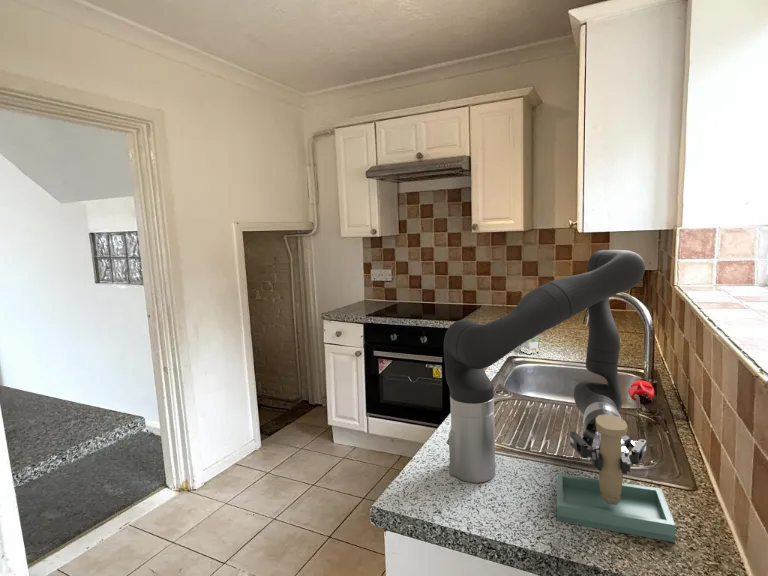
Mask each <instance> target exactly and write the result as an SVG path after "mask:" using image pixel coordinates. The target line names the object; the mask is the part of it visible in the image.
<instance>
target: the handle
mask: <svg viewBox="0 0 768 576" xmlns="http://www.w3.org/2000/svg"><path fill="white" fill-rule="evenodd" d="M621 418H622V417H621ZM621 418H619V417H617V416H613V415H598V416H597V417H596V429H597V431H599V432H600V433H601V443H600V453H601V458H602V471H600V470H598V479H599V486H600V491H601V492H600V497H601V499H602V500H603V501H605V502H606V503H607V504H613V505H617V503H618V502H620V499H621V490H622V483H623V480H624V479H623V475H624V474H622V471H621V456H622V447H621V437H623V436H625V435H627V433H628V424H627V422H626V421H625V420H624V419H623V418H622V419H621Z"/></svg>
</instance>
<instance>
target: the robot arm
mask: <svg viewBox="0 0 768 576" xmlns="http://www.w3.org/2000/svg"><path fill="white" fill-rule="evenodd" d="M645 271H646V264H645V260H644V259H643V257H642V256H641V255H640V254H638V253H637V252H633V251H631V250H626V249H603V250H602V249H600V250H598V251H595V252H594V253H592V255H591V256H590V257H589V259H588V261H587V265H586V272H583V273H579V274H575V275H569V276H564V277H560V278H557V279H554V280H550V281H549V282H547V283H544V284H542V285H541V286H538V287H535V288H534V289H532V290H530V291H528V293H526V294H525V295H524V296H523V297H522V298H521V299H520V301H519V302H518V304H517V305H516V306H515V307H514V309H513V310H512V311H510V313H508V314H506V315H504V316H502V317H500V318H498V319H496V320H493V321H491V322H490V321H489V322H488V323H478V322H475V321H472V320H468V319H467V320H466V319H460V320H456V321H455V322H452V324H450V325H449V327H448V328H447V330H446V331H445V335H444V340H443V357H444V359H443V360H444V374H445V379H446V384H447V385H448V388H449V402H450V403H449V404H450V430H449V432H448V449H449V451H448V452H449V453H448V455H449V457H448V458H449V475H450V476H454V477H455V478H457V479H459V480H461V481H464V482H467V483H474V484H477V483H478V484H480V483H485V482H488V481H490V480H492V479H493V478H494V477H495V476H496V441H495V440H496V439H495V437H496V435H495V434H496V433H495V432H496V431H495V426H496V425H495V392H494V390H495V388H494V383H493V381H491V379H490V378H489V377H488V375H487V374H486V372H485V369H486V368H489V367H491V366H493V365H494V364H496V363H497V362H499V361H500V360H501V359H503V358H504V357H506V356H507V355H508V354H510V353H511V352H512V351H514V350H516V348H518V347H520V345H521V344H523V343H524V342H526V341H528V340H530V339H532V338H534V337H535V336H537V335H539V336H540V334H542V333H545V331H548V330H549V329H552V328H554V327H556V326H558V325H560V324H562V323H564V322H565V321H567V320H569V319H570V318H571V317H574V316H575V315H577V314H579V313H581V312H583V311H585V310H586V309H587V311H588V339H587V347H586V348H587V349H586V356H585V357H586V358H585V368H586V370H587V371H588V372H590V373H592V374H595V375H598V376H600V377H603V378H604V379H605V380H606V383H601V382H594V381H590V380H583V381H580V382H579V383H578V384H576V385H575V387H574V391H573V399H574V403H575V405H576V407H577V408H578V410H579V412H581V413H582V415H583V429H584V430H583V431H584V432H582V434H578V432H576V431H570V432H569V445H570V446H571V447H572V448H573V449H574V450H575V451H576V453H577V454H578V455H579V456H580V457H581V458H583V459H587V458H591V463H592V466H593V467H594V468H596V470H597V471H599V470H600V471H602V458H601V453H600V443H601V433H600V432H599V431H597V429H596V417H597V416H598V415H613V416H617V417H619V418H621V419H623V418H622V417H621V414H620V413H619V412H620V411H621V408H622V406H623V397H622V393H621V392H622V391H621V387H620V383H619V374H618V373H619V370H618V368H619V358H620V350H621V349H620V348H621V347H620V346H621V339H620V333H619V331H618V327H617V325H616V322H615V319H614V317H613V314H612V310H611V306H610V297H612V296H615V295H617V294H621V293H623V292H625V291H628V290H630V289H633V288H634V287H635V286H636V285H637V284H638V283H639V282H640V281H641V280H642V278H643V277H644V274H645ZM621 447H622V456H621V471H622V474H623V475H627V474H628V472H631V470H632V465H635V466H639V464H640V463H641V461H642V460H643V459H644V458H645V456H646V455H647V440H646V439H642V438H641V439H638V441H637V440H632V438H631V437H630V436H629V435H627V434H626V435H625V436H623V437H621ZM630 448H631V451H629V449H630Z"/></svg>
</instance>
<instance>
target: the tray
mask: <svg viewBox="0 0 768 576" xmlns="http://www.w3.org/2000/svg"><path fill="white" fill-rule="evenodd" d="M600 492H601V491H600V486H599V478H590V477H583V476H579V475H577V476H576V475H571V474H562V473H557V474H556V521H557V522H562V523H568V524H572V525H578V526H584V527H588V528H589V527H590V528H595V529H600V530H606V531H611V532H616V533H622V534H628V535H633V536H638V537H645V538H650V539H655V540H660V541H665V542H670V543H675V542H676V522H675V521H674V520H675V519H674V518H673V516H672V512H671V510H670V508H669V505H668V503H667V500H666V498H665V495H664V492H663V490H662V488H659V487H654V486H653V487H652V486H645V485H640V484H633V483H626V482H625V483H624V482H622V490H621V499H620V502H618V503H617V505H613V504H607V503H606V502H605V501H603V500H602V499H601V497H600Z"/></svg>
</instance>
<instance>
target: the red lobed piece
mask: <svg viewBox="0 0 768 576" xmlns="http://www.w3.org/2000/svg"><path fill="white" fill-rule="evenodd" d="M643 393H645V395H648V397H649V401H650V400H652V401H653V397H654V396H655V389H654V387H653V386H652V384H651V383H649V381H645V380H636V381H634V382H633V383H631V385H630V387H629V388H628V395H629V398H631V400H632V401H634V402H635V401H637V398H636V397H635V396H636V395H637V396H644V395H643Z"/></svg>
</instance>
